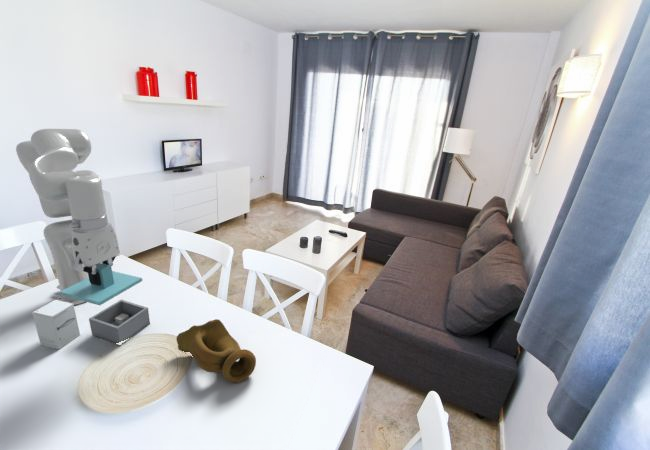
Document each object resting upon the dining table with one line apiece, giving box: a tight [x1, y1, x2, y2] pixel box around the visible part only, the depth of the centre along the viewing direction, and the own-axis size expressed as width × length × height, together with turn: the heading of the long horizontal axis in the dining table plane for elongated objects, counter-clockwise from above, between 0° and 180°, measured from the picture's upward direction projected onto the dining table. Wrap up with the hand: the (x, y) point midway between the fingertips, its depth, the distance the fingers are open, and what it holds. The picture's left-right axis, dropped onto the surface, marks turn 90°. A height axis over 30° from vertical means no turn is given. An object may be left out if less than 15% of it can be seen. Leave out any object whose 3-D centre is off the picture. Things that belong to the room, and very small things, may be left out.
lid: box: [59, 262, 143, 306], centre depth 90 cm, size 14×14×8 cm
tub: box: [88, 299, 151, 345], centre depth 107 cm, size 12×12×7 cm
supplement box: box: [31, 299, 81, 350], centre depth 99 cm, size 7×7×13 cm
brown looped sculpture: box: [176, 318, 257, 383], centre depth 97 cm, size 18×13×22 cm
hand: (101, 280), depth 90 cm, fingers closed on lid, 3 cm apart
